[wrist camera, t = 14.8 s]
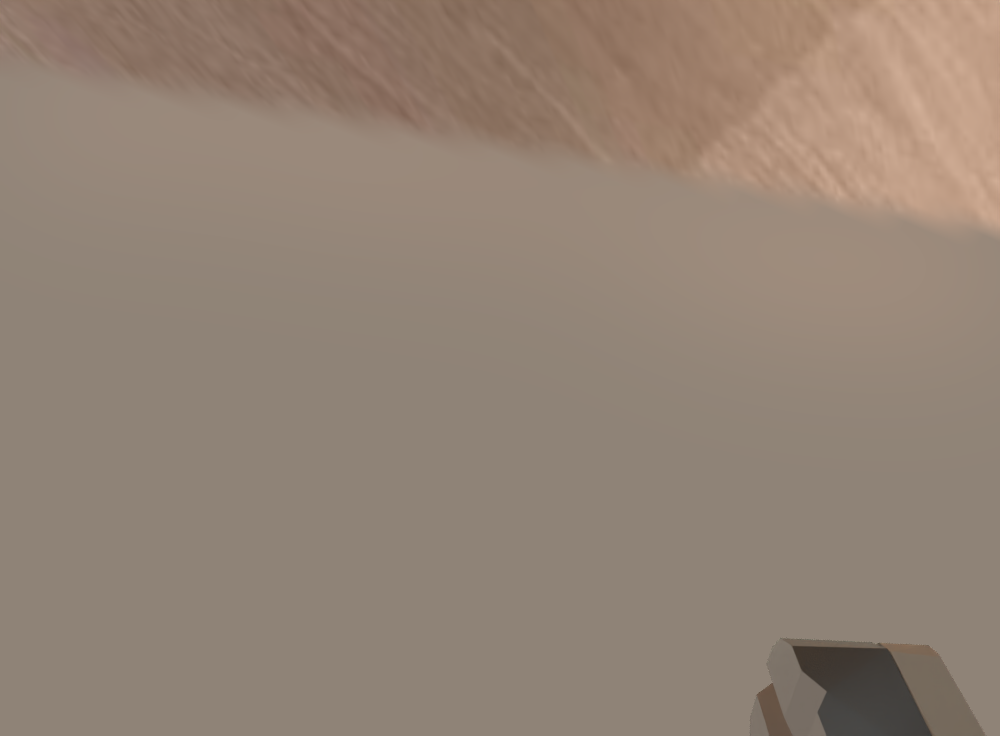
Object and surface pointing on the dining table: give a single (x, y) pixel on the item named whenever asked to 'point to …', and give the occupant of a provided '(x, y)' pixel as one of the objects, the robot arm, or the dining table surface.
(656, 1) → the dining table surface
